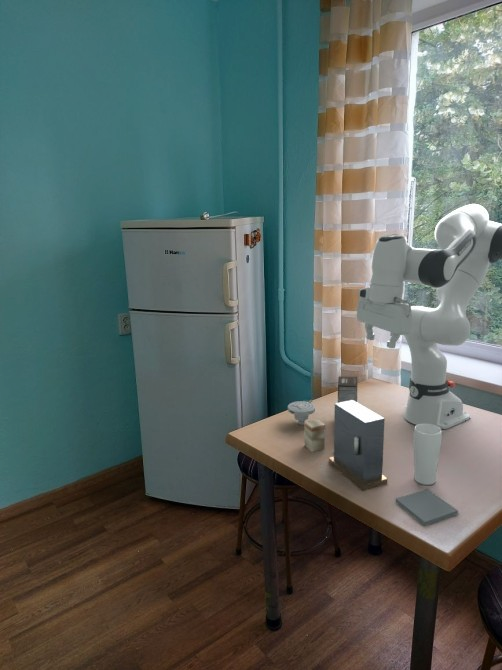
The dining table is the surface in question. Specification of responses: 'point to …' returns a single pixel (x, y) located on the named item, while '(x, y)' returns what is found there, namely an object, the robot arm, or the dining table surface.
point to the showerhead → (301, 410)
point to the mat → (426, 506)
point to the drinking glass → (426, 452)
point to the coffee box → (347, 389)
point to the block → (314, 435)
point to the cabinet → (358, 444)
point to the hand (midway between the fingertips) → (380, 343)
